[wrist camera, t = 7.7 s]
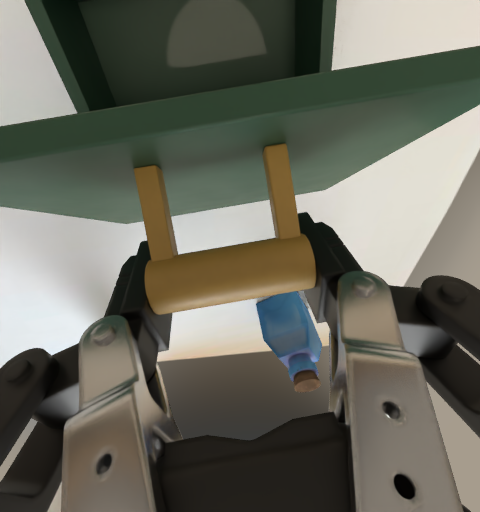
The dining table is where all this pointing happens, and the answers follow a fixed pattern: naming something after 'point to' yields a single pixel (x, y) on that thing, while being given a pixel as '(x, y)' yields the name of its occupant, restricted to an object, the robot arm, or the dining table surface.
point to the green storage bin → (180, 45)
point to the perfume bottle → (292, 337)
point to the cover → (231, 164)
